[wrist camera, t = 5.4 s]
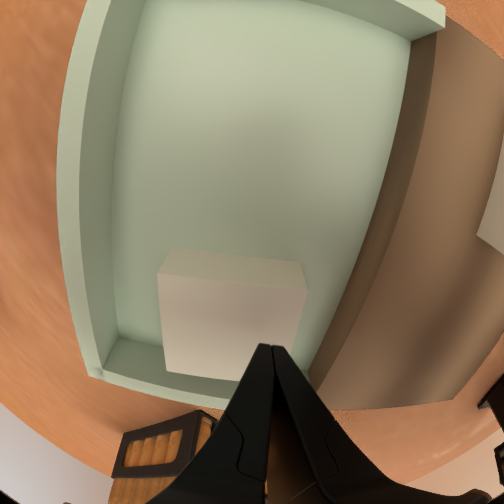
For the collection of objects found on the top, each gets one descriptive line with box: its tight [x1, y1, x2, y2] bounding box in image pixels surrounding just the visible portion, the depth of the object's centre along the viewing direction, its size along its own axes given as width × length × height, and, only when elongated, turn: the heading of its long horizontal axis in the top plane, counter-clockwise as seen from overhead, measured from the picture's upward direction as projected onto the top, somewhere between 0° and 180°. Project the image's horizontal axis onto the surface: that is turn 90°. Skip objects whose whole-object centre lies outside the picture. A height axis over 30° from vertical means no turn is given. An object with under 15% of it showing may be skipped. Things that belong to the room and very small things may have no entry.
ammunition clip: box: [108, 410, 218, 504], centre depth 13 cm, size 11×2×12 cm, turn 129°
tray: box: [56, 0, 445, 410], centre depth 9 cm, size 11×18×3 cm, turn 169°
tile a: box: [157, 248, 308, 381], centre depth 11 cm, size 5×5×2 cm
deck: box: [308, 15, 504, 410], centre depth 10 cm, size 11×18×2 cm, turn 169°
